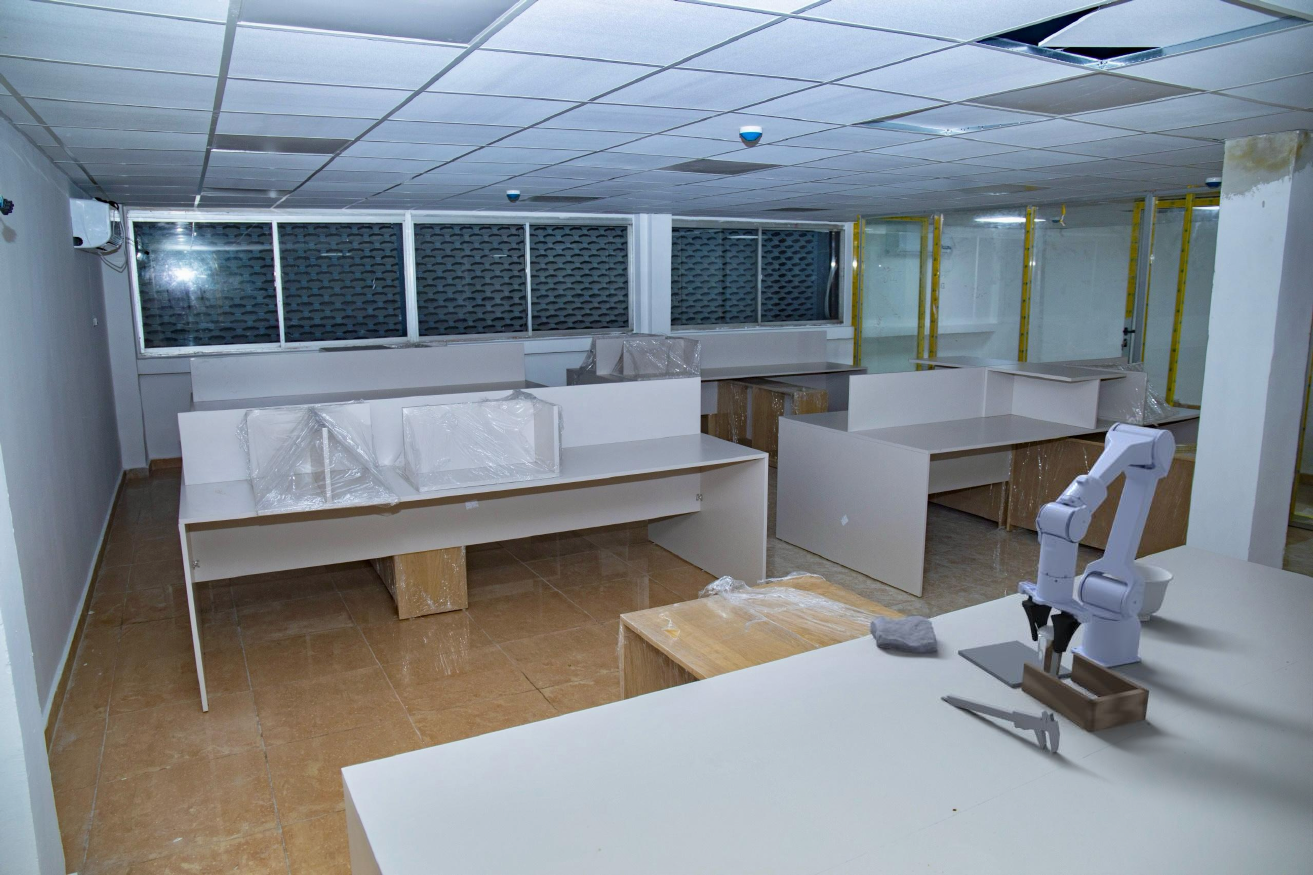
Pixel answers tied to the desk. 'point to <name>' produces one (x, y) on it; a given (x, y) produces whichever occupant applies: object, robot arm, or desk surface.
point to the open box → (1110, 709)
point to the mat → (1006, 661)
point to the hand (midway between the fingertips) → (1048, 645)
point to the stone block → (904, 634)
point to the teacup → (1151, 588)
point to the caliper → (1015, 719)
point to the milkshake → (1048, 651)
